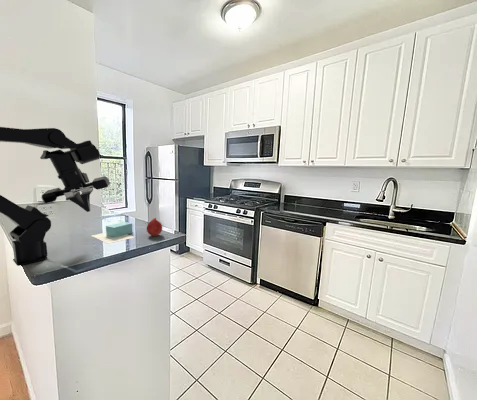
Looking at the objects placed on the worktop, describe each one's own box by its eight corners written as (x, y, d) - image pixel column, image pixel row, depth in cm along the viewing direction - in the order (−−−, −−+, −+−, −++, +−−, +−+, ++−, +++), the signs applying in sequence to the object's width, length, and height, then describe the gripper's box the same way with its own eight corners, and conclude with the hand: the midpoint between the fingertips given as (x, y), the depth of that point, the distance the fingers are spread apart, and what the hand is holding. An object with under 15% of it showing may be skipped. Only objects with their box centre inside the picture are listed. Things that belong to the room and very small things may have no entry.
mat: (108, 245, 80) (108, 243, 80) (90, 237, 88) (90, 235, 88) (135, 238, 88) (135, 237, 88) (116, 231, 96) (116, 230, 96)
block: (113, 227, 86) (132, 223, 93) (105, 225, 88) (124, 221, 95) (114, 237, 86) (132, 232, 93) (106, 235, 89) (124, 231, 96)
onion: (146, 239, 87) (145, 219, 85) (148, 235, 92) (147, 216, 91) (162, 238, 88) (161, 218, 87) (162, 234, 94) (162, 215, 92)
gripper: (102, 157, 81) (119, 196, 88) (43, 171, 76) (65, 211, 83) (97, 163, 72) (116, 206, 78) (29, 179, 66) (55, 223, 73)
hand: (88, 211), depth 78 cm, fingers closed
